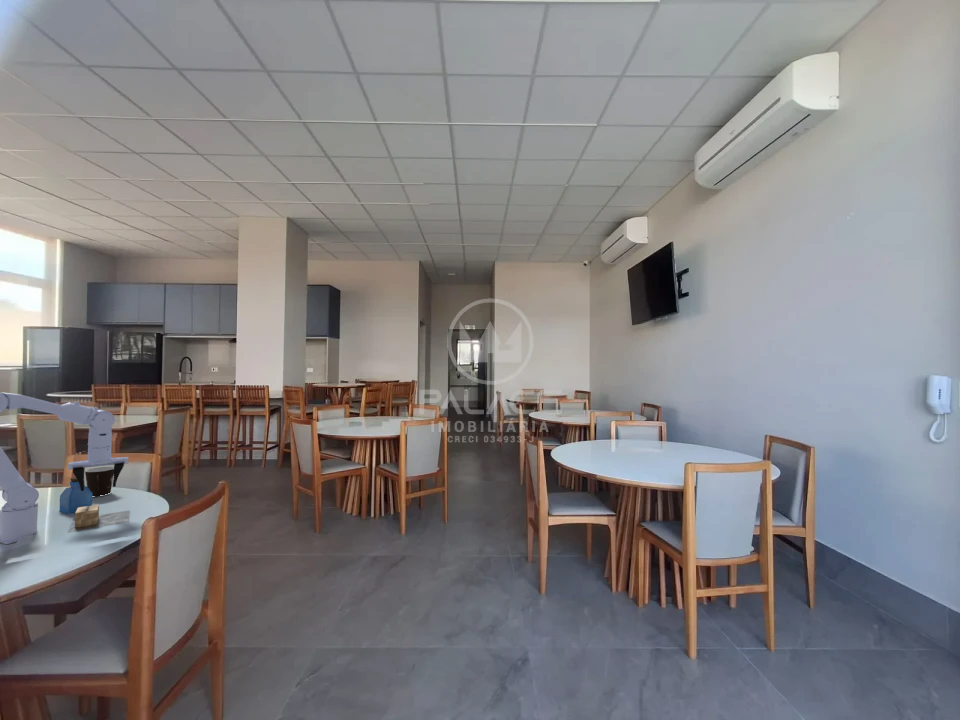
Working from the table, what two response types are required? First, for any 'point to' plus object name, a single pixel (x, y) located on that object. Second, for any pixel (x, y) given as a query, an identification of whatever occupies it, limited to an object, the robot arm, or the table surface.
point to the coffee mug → (99, 480)
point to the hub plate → (104, 521)
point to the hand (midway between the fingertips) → (98, 488)
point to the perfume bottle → (75, 497)
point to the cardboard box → (86, 515)
